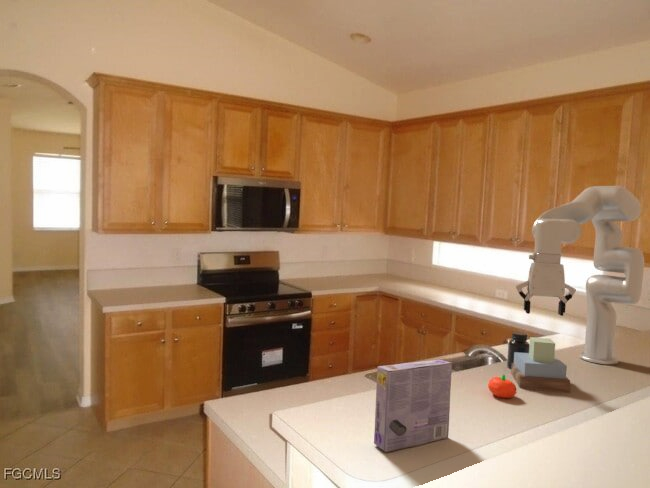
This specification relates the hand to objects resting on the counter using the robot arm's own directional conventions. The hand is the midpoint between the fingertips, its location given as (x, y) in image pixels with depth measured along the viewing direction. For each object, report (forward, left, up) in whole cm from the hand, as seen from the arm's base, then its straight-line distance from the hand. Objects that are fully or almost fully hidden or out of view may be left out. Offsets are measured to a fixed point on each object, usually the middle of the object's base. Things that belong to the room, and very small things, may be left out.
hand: (544, 313), depth 151 cm
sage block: (+1, 0, -14) cm, 14 cm away
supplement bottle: (-14, -4, -22) cm, 26 cm away
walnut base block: (0, 0, -22) cm, 22 cm away
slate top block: (0, -1, -18) cm, 18 cm away
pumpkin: (+16, -14, -22) cm, 31 cm away
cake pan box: (+52, -38, -22) cm, 68 cm away
